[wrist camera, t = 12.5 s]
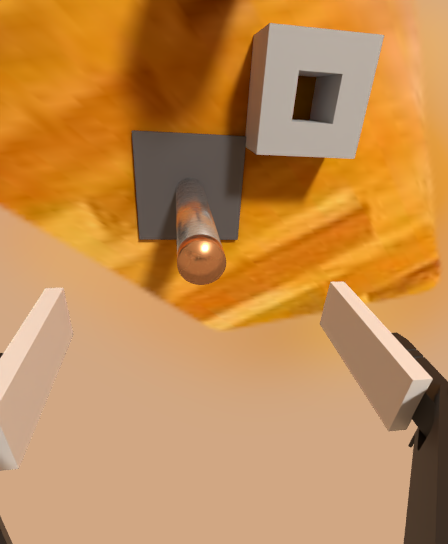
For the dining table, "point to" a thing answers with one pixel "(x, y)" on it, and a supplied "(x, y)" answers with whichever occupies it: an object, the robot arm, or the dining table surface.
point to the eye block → (327, 94)
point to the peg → (197, 236)
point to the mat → (187, 164)
